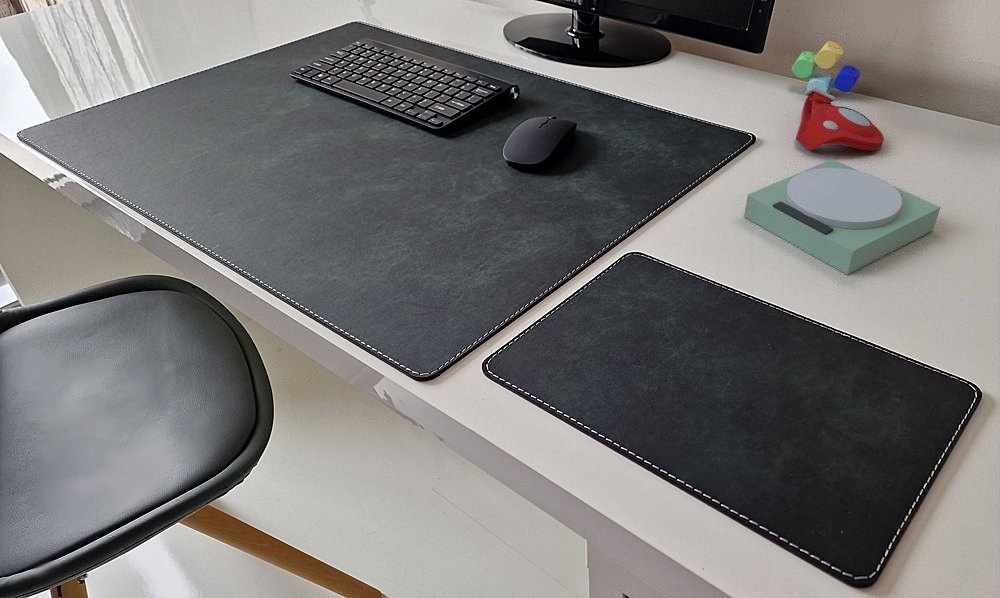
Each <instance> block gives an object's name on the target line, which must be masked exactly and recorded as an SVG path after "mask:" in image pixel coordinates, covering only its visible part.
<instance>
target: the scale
mask: <svg viewBox="0 0 1000 598" xmlns="http://www.w3.org/2000/svg"><path fill="white" fill-rule="evenodd" d="M940 211H941V207H940V206H939V205H937V204H935V203H932V202H929V201H928V200H925V199H923V198H921V197H919V196H916V195H914V194H912V193H910V192H908V191H905V190H903V189H901V188H899V187H896V186H894V185H893V184H891V183H890V182H888V181H886V180H885V179H882V178H881V177H879V176H876V175H873V174H870V173H867V172H864V171H860V170H858V169H856V168H855V167H852V166H849V165H848V164H845V163H843V162H841V161H838V160H836V159H833V158H831V159H829V160H826V161H824V162H821V163H818V164H817V165H814V166H812V167H809V168H807V169H805V170H802V171H800V172H797V173H795V174H793V175H790V176H789V177H786V178H784V179H781V180H779V181H776V182H774V183H771V184H770V185H766V186H765V187H762V188H759V189H757V190H755V191H753V192H750V193H748V194H747V197H746V202H745V209H744V215H743V217H744V218H745V219H747V220H749V221H751V222H753V223H754V224H756V225H757V226H760V227H761V228H763V229H765V230H767V231H768V232H770V233H772V234H774V235H776V236H777V237H779V238H780V239H783V240H785V241H786V242H788V243H790V244H792V245H793V246H795V247H797V248H799V249H800V250H802V251H804V252H806V253H808V254H809V255H811V256H813V257H815V258H817V259H818V260H820V261H822V262H824V263H826V264H827V265H829V266H831V267H833V268H834V269H836V270H838V271H840V272H842V273H843V274H845V275H850V274H851V273H853V272H855V271H857V270H859V269H861V268H864V267H865V266H866V265H869V264H870V263H872V262H874V261H877V260H878V259H880V258H882V257H884V256H886V255H888V254H890V253H892V252H894V251H896V250H898V249H900V248H902V247H904V246H905V245H907V244H909V243H911V242H914V241H915V240H917V239H919V238H922V237H923V236H925V235H927V234H929V233H931V232H932V231H934V228H935V227H936V226H935V225H936V222H937V220H938V216H939V213H940Z"/></svg>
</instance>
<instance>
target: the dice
mask: <svg viewBox="0 0 1000 598" xmlns="http://www.w3.org/2000/svg"><path fill="white" fill-rule="evenodd" d="M843 55H844V49H843V48H842V47H841V45H839V44H838V43H837V42H835V41H826V43H825V44H824V45H823V46H822V47H821V49H820V50H819V51H818V52H817V54H815V53H814V52H811V51H802V52H801V53H800V55H798V58H797V59H796V60H795V62H794V63H793V65H792V66H791V72H792V74H793V75H794V76H795V77H797V78H798V79H802V80H808V83H807V87H806V91H808V90H809V89H811V88H813V87H816V88H818V89H820V90H823V91H824V92H826V93H829V94H830V92H831V90H832V86H834V88H835V89H836V90H838V91H840V92H842V93H850V92H851V90H852V89H853V87H854V86H855V84H856V82H857V81H858V80H859V78H860V76H861V72H860V71H859V70H858V69H857V68H856V67H855V66H852V65H847V64H846V65H843V66H842V68H841V69H840V70H839V72H838V74H837V75H836V76H835V78H833V76H832V75H830V74H828V73H827V72H826V73H825V72H816V73H814V71H815V70H816V69H817V68H818V67H819V68H820V69H822V70H825V71H831V69H832V68H833V67H834V66H835V65H836V63H838V61H839V60H840V59H841V57H842V56H843Z"/></svg>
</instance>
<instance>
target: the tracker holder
mask: <svg viewBox="0 0 1000 598" xmlns="http://www.w3.org/2000/svg"><path fill="white" fill-rule="evenodd" d="M804 95H805V96H806V98H805V101H804V103H803V107H802V111H801V118H800V124H799V127H798V130H797V133H796V136H795V140H796V141H797V142H799V143H800V144H801V145H802V146H803V147H805V148H806V149H807V150H809V151H813V150H815V149H817V148H818V147H821V146H823V145H843V146H847V147H850V148H853V149H857V150H858V149H859V150H863V151H871V152H873V151H877V150H879V149H880V148H881V146H882V144H883V142H884V135H883V134H882V132H881V130H880V129H879V128H878V127H876V126H875V125H874V123H873V122H872V120H870V119H869V118H868V117H867V116H865V115H864V114H863V113H861V112H859V111H857V110H855V109H852V108H849V107H846V106H840V105H835V104H832V102H834V101H836V96H834V95H832V94H831V93H830V92H829V93H826V92H824V91H823V90H820V89H818V88H816V87H813V88H811V89H809V90H808V91H807V90H806V91H805V92H804Z"/></svg>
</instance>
